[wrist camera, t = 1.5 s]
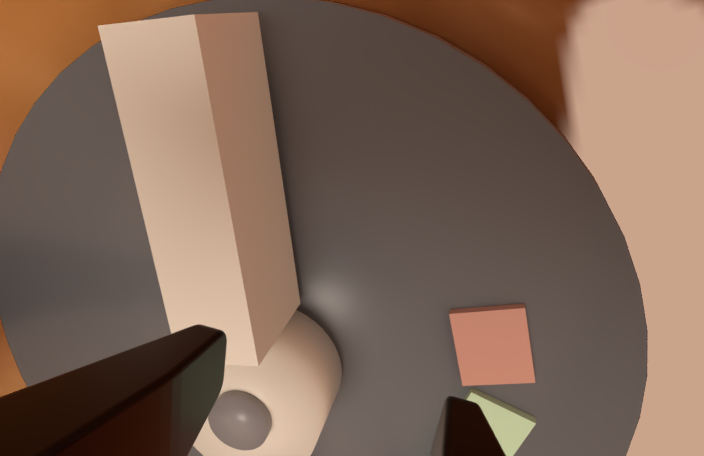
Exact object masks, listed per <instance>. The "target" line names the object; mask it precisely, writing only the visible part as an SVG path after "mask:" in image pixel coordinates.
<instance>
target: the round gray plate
mask: <svg viewBox="0 0 704 456" xmlns="http://www.w3.org/2000/svg"><path fill="white" fill-rule="evenodd" d="M243 12H258V17H259V24H260V30H261V37H262V44H263V51H264V58H265V65H266V71H267V78H268V85H269V92H270V99H271V105H272V112H273V119H274V126H275V133H276V140H277V146H278V153H279V160H280V167H281V174H282V181H283V187H284V194H285V201H286V208H287V215H288V221H289V228H290V235H291V242H292V249H293V256H294V262H295V269H296V276H297V283H298V290H299V297H300V305H299V306H298V308H297V309H296V310H297V311H300V312H301V313H303V314H305V315H306V316H308V317H309V318H311V319H312V320H313V321H315V322H316V323H317V324H318V325H319V326H320V327H321V328H322V329H323V330H324V331H325V332H326V333H327V335H328V336H329V337H330V339H331V340H332V342H333V343H334V345H335V347H336V349H337V352H338V355H339V358H340V362H341V368H342V377H341V384H340V388H339V390H338V393H337V395H336V398H335V400H334V402H333V405H332V407H331V409H330V412H329V414H328V417H327V419H326V421H325V424H324V426H323V429H322V431H321V433H320V436H319V438H318V441H317V443H316V445H315V448H314V450H313V452H312V454H311V455H310V456H430V453H431V449H432V445H433V441H434V438H435V434H436V430H437V427H438V423H439V420H440V416H441V413H442V409H443V406H444V402H445V400H446V398H447V397H448V396H455V397H458V398H462V399H465V400H469V401H472V402H475V403H477V404H478V405H479V406H480V407H481V409H482V411H483V413H484V415H485V417H486V419H487V421H488V423H489V424H490V426H491V428H492V430H493V432H494V434H495V436H496V438H497V440H498V441H499V443H500V445H501V447H502V449H503V451H504V453H505V455H506V456H626V454H627V452H628V449H629V446H630V443H631V440H632V438H633V435H634V432H635V429H636V427H637V424H638V421H639V418H640V413H641V407H642V402H643V396H644V391H645V385H646V379H647V325H646V319H645V313H644V307H643V300H642V294H641V288H640V283H639V280H638V277H637V274H636V271H635V268H634V265H633V262H632V259H631V256H630V253H629V250H628V247H627V244H626V241H625V237H624V235H623V233H622V231H621V229H620V227H619V225H618V223H617V221H616V219H615V218H614V215H613V214H612V212H611V210H610V208H609V206H608V204H607V202H606V200H605V198H604V196H603V194H602V192H601V190H600V188H599V186H598V184H597V183H596V181H595V179H594V177H593V176H592V174H591V173H590V171H589V170H588V169H587V167H586V166H585V164H584V163H583V162H582V160H581V159H580V157H579V156H578V155H577V153H576V152H575V150H574V149H573V148H572V146H571V145H570V143H569V142H568V141H567V139H566V138H565V136H564V135H563V134H562V133H561V132H560V131H559V130H558V129H557V128H556V127H555V126H554V125H553V123H552V122H551V121H550V120H549V119H548V118H547V117H546V116H545V115H544V114H543V113H542V112H541V111H540V110H539V109H538V108H537V107H536V106H535V105H534V104H533V103H532V102H531V100H530V99H529V98H528V97H527V96H525V95H524V94H523V93H522V92H520V91H519V90H518V89H517V88H515V87H514V86H513V85H511V84H510V83H509V82H508V81H506V80H505V79H504V78H503V77H501V76H500V75H499V74H498V73H496V72H495V71H494V70H492V69H491V68H490V67H489V66H487V65H486V64H485V63H483V62H482V61H480V60H478V59H477V58H475V57H473V56H471V55H470V54H468V53H466V52H465V51H463V50H461V49H459V48H458V47H456V46H454V45H453V44H451V43H449V42H447V41H446V40H444V39H442V38H441V37H439V36H437V35H435V34H432V33H430V32H428V31H425V30H423V29H420V28H418V27H415V26H413V25H411V24H408V23H406V22H403V21H401V20H398V19H396V18H393V17H391V16H389V15H386V14H382V13H378V12H374V11H370V10H366V9H362V8H358V7H354V6H350V5H346V4H342V3H338V2H332V1H323V0H211V1H206V2H201V3H196V4H191V5H186V6H181V7H176V8H172V9H169V10H166V11H164V12H161V13H159V14H156V15H153V16H151V17H148V18H145V19H143V20H151V19H159V18H168V17H176V16H185V15H193V14H218V13H243ZM140 21H142V20H140ZM0 318H1V321H2V324H3V328H4V331H5V335H6V338H7V341H8V344H9V347H10V349H11V352H12V354H13V356H14V359H15V361H16V364H17V366H18V368H19V371H20V373H21V376H22V377H23V379H24V381H25V383H26V385H27V387H29V386H32V385H34V384H37V383H40V382H42V381H45V380H48V379H50V378H53V377H56V376H59V375H61V374H64V373H67V372H69V371H72V370H75V369H77V368H80V367H83V366H85V365H88V364H91V363H94V362H96V361H99V360H102V359H104V358H107V357H110V356H112V355H115V354H118V353H121V352H123V351H126V350H129V349H131V348H134V347H137V346H139V345H142V344H145V343H147V342H150V341H153V340H156V339H158V338H161V337H164V336H166V335H169V334H171V331H170V327H169V323H168V318H167V314H166V310H165V306H164V302H163V297H162V293H161V289H160V285H159V281H158V276H157V272H156V268H155V264H154V260H153V256H152V251H151V247H150V243H149V239H148V235H147V230H146V226H145V222H144V218H143V214H142V209H141V205H140V201H139V197H138V193H137V188H136V184H135V180H134V176H133V172H132V168H131V163H130V159H129V155H128V151H127V147H126V142H125V138H124V134H123V130H122V126H121V121H120V117H119V113H118V109H117V105H116V100H115V96H114V92H113V88H112V84H111V79H110V75H109V71H108V67H107V63H106V59H105V54H104V50H103V46H102V42H101V41H100V42H99V43H97V44H95V45H93V46H92V47H91V48H89V49H88V50H87V51H86V52H85V53H83V54H82V55H81V56H80V57H79V58H77V59H76V60H75V61H74V62H73V63H71V64H70V65H69V66H68V67H67V68H65V69H64V70H63V71H62V72H61V73H60V74H59V75H58V76H57V77H56V79H55V80H54V81H53V82H52V83H51V84H50V86H49V87H48V88H47V89H46V90H45V91H44V93H43V94H42V95H41V96H40V97H39V98H38V100H37V101H36V102H35V103H34V105H33V107H32V108H31V110H30V112H29V113H28V115H27V117H26V118H25V120H24V122H23V123H22V125H21V127H20V128H19V130H18V132H17V133H16V135H15V138H14V140H13V143H12V145H11V148H10V150H9V152H8V155H7V157H6V160H5V162H4V165H3V167H2V171H1V175H0ZM188 456H203V455H202V454H201V453H200V452H199V451H198V450H197V449H196V448H195V447H194V446H192V448H191V450H190V452H189V454H188Z"/></svg>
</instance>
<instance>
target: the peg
mask: <svg viewBox="0 0 704 456" xmlns="http://www.w3.org/2000/svg"><path fill="white" fill-rule="evenodd" d="M98 29H99V33H100V38H101V42H102V46H103V50H104V54H105V59H106V63H107V67H108V71H109V75H110V79H111V84H112V88H113V92H114V96H115V100H116V105H117V109H118V113H119V117H120V121H121V126H122V130H123V134H124V138H125V142H126V147H127V151H128V155H129V159H130V163H131V168H132V172H133V176H134V180H135V184H136V188H137V193H138V197H139V201H140V205H141V209H142V214H143V218H144V222H145V226H146V230H147V235H148V239H149V243H150V247H151V251H152V256H153V260H154V264H155V268H156V272H157V276H158V281H159V285H160V289H161V293H162V297H163V302H164V306H165V310H166V314H167V318H168V323H169V327H170V331H171V334H172V333H174V332H177V331H180V330H182V329H185V328H188V327H191V326H193V325H197V324H201V325H205V326H209V327H212V328H216V329H219V330H222V331H223V332H224V333H225V334H226V338H227V346H226V358H225V370H224V380H223V385H222V388H221V391H220V394H219V396H218V398H217V400H216V402H215V404H214V406H213V408H212V410H211V412H210V414H209V415H208V417H207V419H206V421H205V423H204V425H203V427H202V429H201V431H200V433H199V435H198V437H197V439H196V441H195V442H194V444H193V446H194V447H195V448H196V449H197V450H198V451H199V452H200V453H201V454H202V455H203V456H310V455H311V454H312V452H313V450H314V448H315V445H316V443H317V441H318V438H319V436H320V433H321V431H322V429H323V426H324V424H325V421H326V419H327V417H328V414H329V412H330V409H331V407H332V405H333V402H334V400H335V398H336V395H337V393H338V390H339V388H340V384H341V377H342V368H341V362H340V358H339V355H338V352H337V349H336V347H335V345H334V343H333V342H332V340H331V339H330V337H329V336H328V335H327V333H326V332H325V331H324V330H323V329H322V328H321V327H320V326H319V325H318V324H317V323H316V322H315V321H313V320H312V319H311V318H309V317H308V316H306V315H305V314H303V313H301V312H300V311H297V310H296V309H297V308H298V306H299V305H300V297H299V290H298V283H297V276H296V269H295V262H294V256H293V249H292V242H291V235H290V228H289V221H288V215H287V208H286V201H285V194H284V187H283V181H282V174H281V167H280V160H279V153H278V146H277V140H276V133H275V126H274V119H273V112H272V105H271V99H270V92H269V85H268V78H267V71H266V65H265V58H264V51H263V44H262V37H261V30H260V24H259V17H258V12H243V13H218V14H193V15H185V16H176V17H168V18H159V19H151V20H142V21H134V22H125V23H116V24H108V25H99V26H98Z"/></svg>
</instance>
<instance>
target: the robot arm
mask: <svg viewBox="0 0 704 456" xmlns="http://www.w3.org/2000/svg"><path fill="white" fill-rule="evenodd" d="M226 346H227V338H226V334H225V333H224V332H223V331H222V330H219V329H216V328H212V327H209V326H205V325H201V324H197V325H193V326H191V327H188V328H185V329H182V330H180V331H177V332H174V333H172V334H169V335H166V336H164V337H161V338H158V339H156V340H153V341H150V342H147V343H145V344H142V345H139V346H137V347H134V348H131V349H129V350H126V351H123V352H121V353H118V354H115V355H112V356H110V357H107V358H104V359H102V360H99V361H96V362H94V363H91V364H88V365H85V366H83V367H80V368H77V369H75V370H72V371H69V372H67V373H64V374H61V375H59V376H56V377H53V378H50V379H48V380H45V381H42V382H40V383H37V384H34V385H32V386H29V387H26V388H24V389H21V390H18V391H15V392H13V393H10V394H7V395H5V396H2V397H0V456H188V454H189V452H190V450H191V448H192V446H193V444H194V442H195V441H196V439H197V437H198V435H199V433H200V431H201V429H202V427H203V425H204V423H205V421H206V419H207V417H208V415H209V414H210V412H211V410H212V408H213V406H214V404H215V402H216V400H217V398H218V396H219V394H220V391H221V388H222V385H223V380H224V370H225V358H226ZM430 456H506V455H505V453H504V451H503V449H502V447H501V445H500V443H499V441H498V440H497V438H496V436H495V434H494V432H493V430H492V428H491V426H490V424H489V423H488V421H487V419H486V417H485V415H484V413H483V411H482V409H481V407H480V406H479V405H478V404H477V403H475V402H472V401H469V400H465V399H462V398H458V397H455V396H448V397H447V398H446V400H445V402H444V406H443V409H442V413H441V416H440V420H439V423H438V427H437V430H436V434H435V438H434V441H433V445H432V449H431V453H430Z"/></svg>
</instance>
